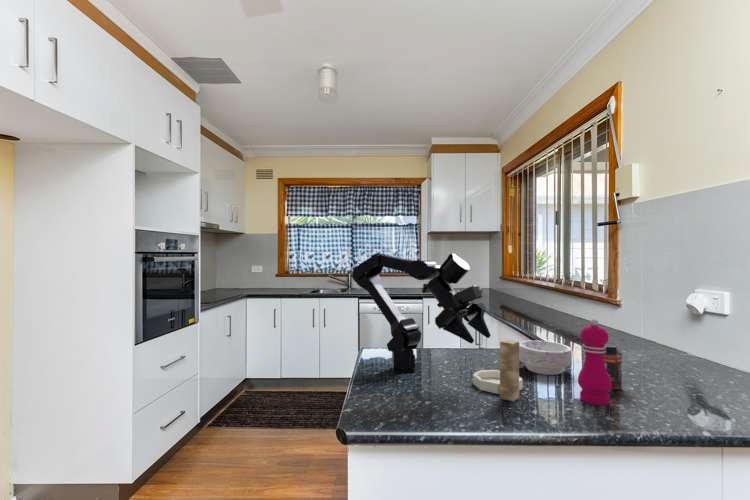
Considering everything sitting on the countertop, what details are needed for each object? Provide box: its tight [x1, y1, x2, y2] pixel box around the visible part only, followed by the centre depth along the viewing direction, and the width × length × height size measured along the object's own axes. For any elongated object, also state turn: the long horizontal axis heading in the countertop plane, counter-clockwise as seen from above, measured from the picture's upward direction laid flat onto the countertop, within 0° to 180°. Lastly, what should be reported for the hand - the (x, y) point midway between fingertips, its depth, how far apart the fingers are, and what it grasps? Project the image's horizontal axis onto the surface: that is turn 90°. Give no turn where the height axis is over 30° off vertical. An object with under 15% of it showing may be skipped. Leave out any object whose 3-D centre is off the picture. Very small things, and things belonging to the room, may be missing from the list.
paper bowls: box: [519, 339, 573, 376], centre depth 118 cm, size 15×15×8 cm
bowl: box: [472, 369, 524, 395], centre depth 103 cm, size 12×12×2 cm
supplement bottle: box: [604, 343, 623, 391], centre depth 103 cm, size 6×6×11 cm
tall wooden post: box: [499, 339, 520, 402], centre depth 95 cm, size 3×3×14 cm
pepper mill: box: [577, 318, 612, 407], centre depth 93 cm, size 7×7×20 cm
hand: (481, 339), depth 100 cm, fingers open, 9 cm apart
